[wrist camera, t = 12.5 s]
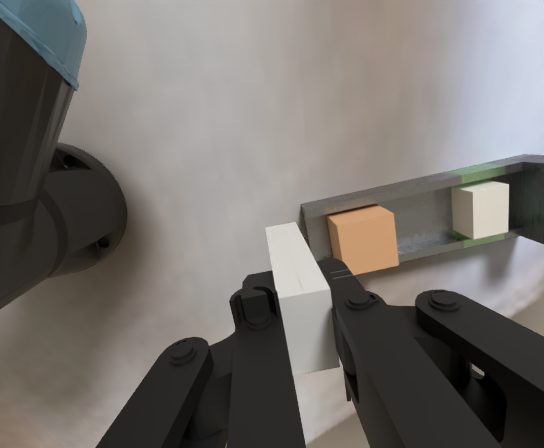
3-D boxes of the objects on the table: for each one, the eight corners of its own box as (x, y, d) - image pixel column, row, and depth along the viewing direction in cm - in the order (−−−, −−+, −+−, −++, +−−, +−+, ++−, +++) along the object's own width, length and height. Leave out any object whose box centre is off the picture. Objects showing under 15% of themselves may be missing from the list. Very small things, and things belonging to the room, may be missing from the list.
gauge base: (313, 269, 39) (325, 297, 32) (301, 204, 36) (311, 219, 29) (522, 223, 38) (580, 241, 31) (524, 154, 36) (588, 158, 29)
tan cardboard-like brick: (333, 259, 37) (345, 277, 32) (326, 214, 35) (336, 226, 30) (380, 248, 37) (398, 265, 32) (375, 203, 35) (393, 213, 30)
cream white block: (453, 230, 37) (473, 239, 33) (451, 187, 35) (472, 192, 32) (484, 223, 37) (508, 231, 33) (484, 179, 35) (508, 184, 32)
